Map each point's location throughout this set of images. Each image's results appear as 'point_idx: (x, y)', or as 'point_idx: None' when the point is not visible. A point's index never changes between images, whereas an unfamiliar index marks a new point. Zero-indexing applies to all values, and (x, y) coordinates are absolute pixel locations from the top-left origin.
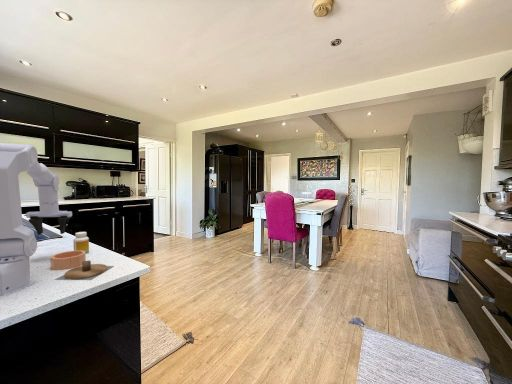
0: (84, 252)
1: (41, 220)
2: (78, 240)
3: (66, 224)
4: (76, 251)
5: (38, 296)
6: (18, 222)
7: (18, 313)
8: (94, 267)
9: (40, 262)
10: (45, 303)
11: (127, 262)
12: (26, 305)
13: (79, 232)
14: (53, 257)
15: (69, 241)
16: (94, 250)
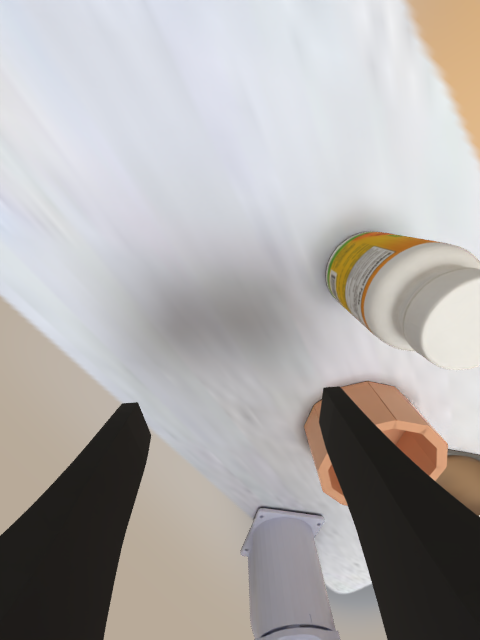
0: (444, 455)
1: (36, 616)
2: (413, 350)
3: (417, 471)
4: (401, 428)
5: (357, 560)
6: None
7: (353, 591)
8: (460, 486)
9: (219, 366)
10: None
11: None
12: (352, 578)
13: (457, 309)
14: (334, 492)
15: None
16: (422, 191)
